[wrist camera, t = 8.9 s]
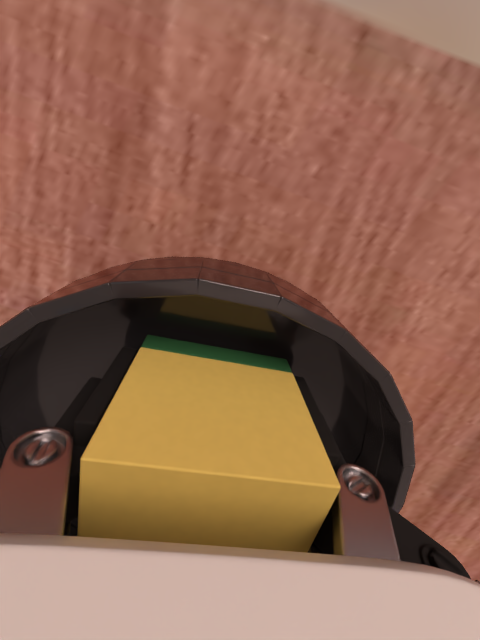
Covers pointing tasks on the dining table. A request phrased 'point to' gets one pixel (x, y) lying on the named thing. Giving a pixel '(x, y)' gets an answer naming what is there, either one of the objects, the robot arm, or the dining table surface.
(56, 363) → the pan
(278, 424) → the sponge
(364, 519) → the robot arm
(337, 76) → the dining table surface
